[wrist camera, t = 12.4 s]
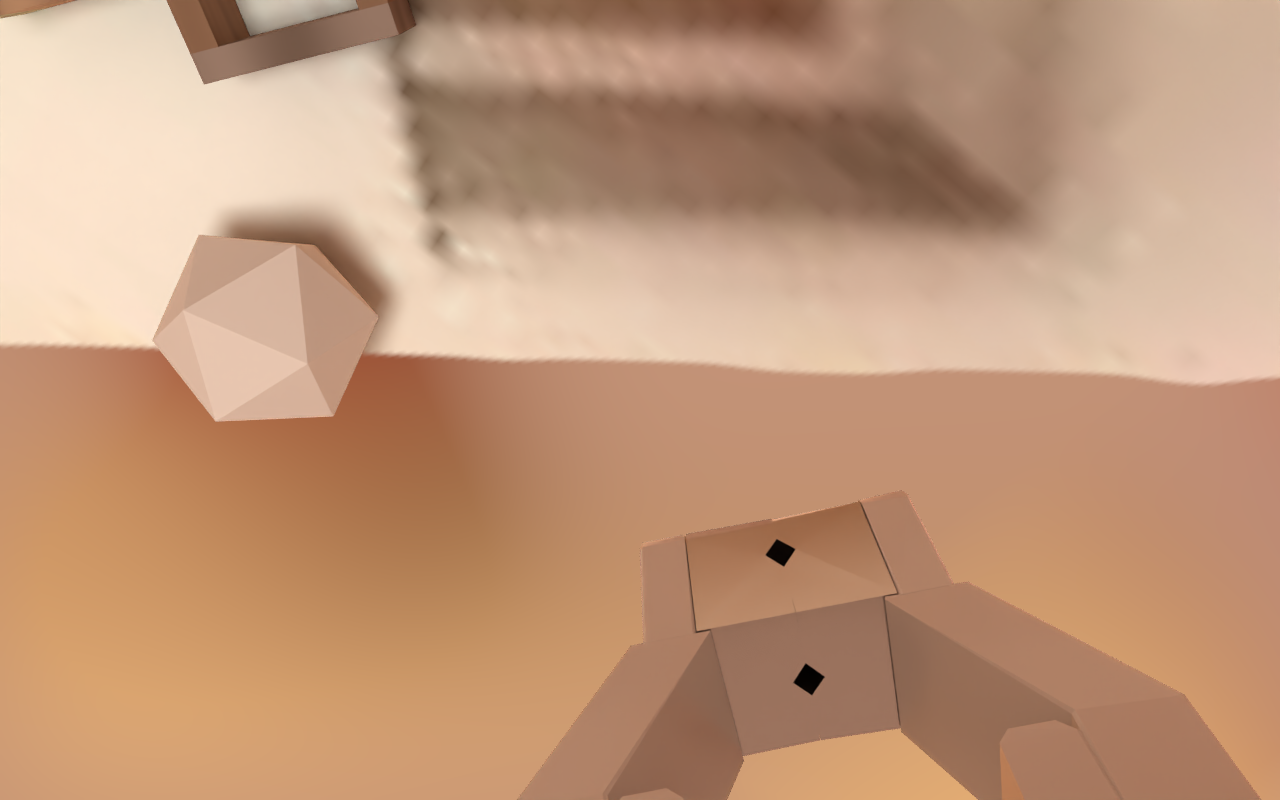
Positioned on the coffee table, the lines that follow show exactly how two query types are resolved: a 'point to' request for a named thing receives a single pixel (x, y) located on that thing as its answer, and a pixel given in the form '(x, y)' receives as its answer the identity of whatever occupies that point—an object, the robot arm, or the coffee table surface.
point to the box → (230, 51)
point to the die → (264, 329)
